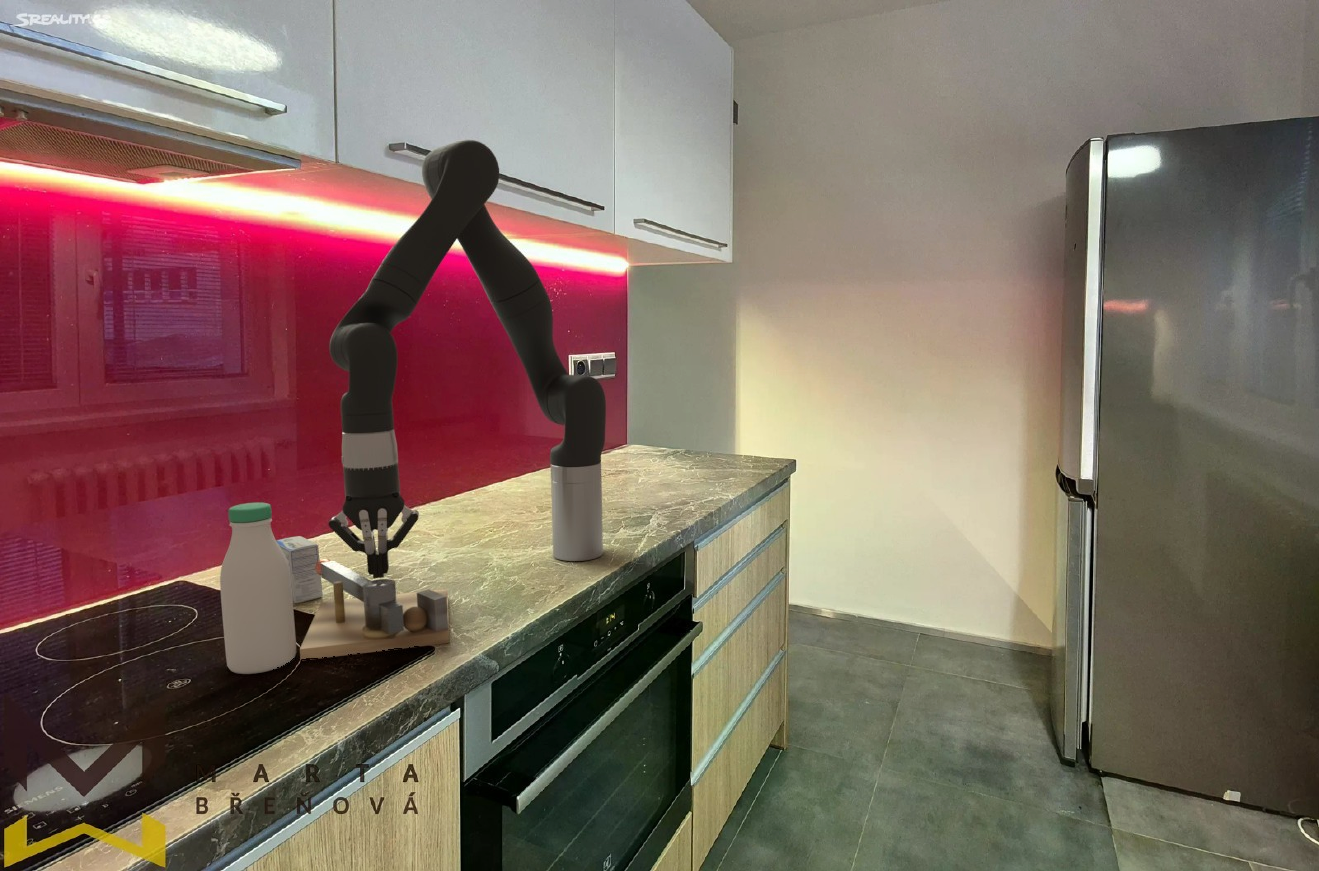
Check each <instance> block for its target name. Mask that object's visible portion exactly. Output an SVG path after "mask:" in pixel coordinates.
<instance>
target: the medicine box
mask: <svg viewBox="0 0 1319 871" xmlns="http://www.w3.org/2000/svg"><path fill="white" fill-rule="evenodd" d="M276 541H277V543H278V545H279V546H280V548H281V549H282V551H283V553H284V555H285V557H286V559H287V562H288V566H289V571H290V579H291V588H292V600H293V604H299V603H305V602H308V601H312V600H317V599H321V598H322V597H323V596H324V593H323V585H322V584H323V583H322V576H320V575H319V574H317V572H316V570H315V566H316V564H317V562H318V561H320V560H321V558H320V549H319V544H317V542H316V543H315V542H313V541H312V540H309V539H307V538H305V537H303V536H301V535H298V536H290V537H284V538H282V539H276Z"/></svg>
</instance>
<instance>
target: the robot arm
mask: <svg viewBox="0 0 1319 871" xmlns="http://www.w3.org/2000/svg"><path fill="white" fill-rule="evenodd" d="M499 166H500V165H499V162H498V160H497V158H496V156H495V154H494V152H493V151H492V149H491V148H490V147H489V146H487V145H486V144H484V143H483V142H481V141H479V140H474V139H463V140H462V139H461V140H459V141H458V140H457V141H454V142H452V143H449V144H446V145H443V146H441V147H437V148H435V149H433V150H431V151H429V153H428V154H427V155H426V156H425V158H424V160H423V162H422V166H421V175H422V176H421V177H422V182H423V184H424V185H423V186H424V187H425V190H426V192H427V194H428V196H429V198H430V199H431V200H430V202H429V203H428V205H427V207H425V209H424V211H423V212H422V213H421V214H420V216H419V217H418V219H416V220H415V222H413V224H412V225H411V226H410V227H409V228H408V229H407V230H406V231H405V233H403V234H402V236H400V238H399V239H398V240H397V241H396V242H395V243H394V245H393V246H392V247H391V248H390V250H389V251H388V253H387V254H386V256H385V257H384V259H383V260H382V261H381V263H380V265H379V266H378V268H377V270H376V271H375V273H374V275H373V277H372V278H371V280H370V282H369V284H368V286H367V288H366V289H365V292H364V293H363V294H362V295H361V297H359V298H358V300H357V301H356V302H355V303H354V304H353V305H352V306H351V307H350V309H349V310H348V311H347V312H346V313H345V315H344V316H343V317H342V319H341V320H340V321H339V323H337V325H336V327H335V329H334V331H333V333H332V335H331V337H330V340H329V347H328V348H329V354H330V357H331V360H332V361H333V363H334V364H335V365H336V366H337V367H339V368H340V369H342V370H344V371H347V372H348V373H349V374H348V375H349V376H348V390H347V391H346V392H345V393H344V394H343V395H342V397H341V399H340V418H341V419H340V420H341V430H342V433H341V434H342V438H341V440H342V441H341V464H342V469H343V470H342V471H343V484H344V495H345V496H344V497H345V498H344V502H343V505H342V510H341V511H340V512H339V513H338V514H337V515H335V516H332V517H331V519H330V520H329V521H328V527H329V528H330V529H331V531H333V532H334V533H335V534H336V535H337V536H338V537H339V538H340V539H341V540H342V541H343V542H344V543H345V544H346V545H347V546H348V547H349V548H350V549H351V550H352V551H354V552H356V553H359V552H360V553H361V552H362V553H364V554H365V556H366V563H367V564H366V565H367V573H368V575H369V576H372V579H374V580H375V579H385V574H388V572H389V570H390V564H389V561H390V560H389V551H390V550H393V549H396V548H398V547H399V546H400V545H401V543H402V542H403V541H404V539H405V538H406V536H407V535H408V534H409V532H410V531H411V529H412V528H413V527H414V525H415V524H416V523H417V521H418V520H419V517H420V512H419V511H418V510H416V509H412V508H410V507H408V506H406V505H405V501H404V499H403V496H402V494H401V486H400V485H401V484H400V468H399V454H398V443H397V439H396V433H395V422H394V408H393V395H394V392H395V386H396V378H397V372H398V362H399V361H398V350H397V349H398V347H397V344H396V341H395V338H394V336H393V335H392V333H391V332H393V330H394V328H395V327H397V325H399V324H400V323H403V322H404V321H406V320H407V319H409V317H410V316H411V315H412V314H413V312H414V311H415V309H416V307H417V305H418V304H419V302H420V300H421V298H422V296H423V295H424V293H425V291H426V289H427V287H428V286H429V283H430V282H431V281H432V278H433V277H434V275H435V273H436V272H437V270H438V268H439V266H440V265H441V263H442V262H443V260H444V258H445V257H446V255H448V253H449V251H450V249H451V248H452V246H453V245H454V244H455V242H456V241H458V243H459V244H460V246H461V248H462V250H463V252H464V254H465V255H466V257H467V259H468V262H469V263H470V265H471V267H472V270H473V271H474V273H475V275H476V276H477V278H478V280H479V282H480V284H481V286H482V288H483V290H484V291H485V294H486V296H487V299H488V300H489V302H490V304H491V306H492V308H493V310H494V312H495V313H496V316H497V318H498V320H499V321H500V323H501V325H502V326H503V329H504V330H505V332H506V335H507V337H508V338H509V340H510V342H511V344H512V346H513V348H514V350H515V352H516V354H517V356H518V358H519V360H520V362H521V364H522V366H523V368H524V370H525V373H526V376H527V377H528V380H529V383H530V385H531V388H532V390H533V393H534V395H535V398H536V401H537V403H538V406H539V407H540V410H541V412H542V413H543V414H544V416H545V417H546V419H548V420H549V421H551V422H552V423H554V424H557V425H559V426H560V425H562V426H564V434H563V435H564V436H563V438H562V439H563V440H562V441H561V442H560V443H559V444H556V445H555V446H554V447H552V448H551V449H550V454H549V460H550V461H549V463H550V485H551V486H550V487H551V488H550V489H551V492H550V493H551V495H550V496H551V520H552V521H551V525H552V527H551V528H552V530H551V531H552V556H553V557H554V558H555V559H557V560H561V561H568V562H584V561H590V560H593V559H597V558H599V557H602V556H603V555H604V554H603V553H604V543H603V542H604V539H603V538H604V536H603V535H604V534H603V533H604V532H603V530H604V529H603V492H602V491H603V486H602V484H603V483H602V482H603V481H602V453H603V450H604V447H605V444H606V423H607V422H606V421H607V420H606V419H607V417H606V416H607V401H606V395H605V391H604V388H603V386H602V384H601V383H600V381H598V379H597V378H595V377H593V376H589V375H583V374H581V375H580V374H577V375H576V374H569V372H568V371H567V370H566V368H565V366H564V364H563V362H562V361H561V358H560V355H559V354H558V352H557V350H556V347H555V344H554V329H553V328H554V318H553V315H554V314H553V306H552V302H551V299H550V298H549V295H548V293H547V290H546V288H545V286H544V284H543V282H542V280H541V278H540V276H539V273H538V272H537V270H536V269H535V267H534V266H533V264H532V263H531V262H530V261H529V259H528V258H527V257H526V255H524V254H523V252H521V251H520V250H519V249H518V248H517V247H516V246H515V244H513V243H512V242H511V241H510V239H508V238H507V237H506V236H505V235H504V234H503V233H502V231H501V230H500V229H499V227H498V226H497V225H496V224H495V222H494V220H493V219H492V217H491V214H490V213H489V211H488V209H487V206H486V205H485V204H486V203H487V202H488V200H489V199H490V198H491V197H492V195H493V194H494V193H495V190H496V189H497V187H498V183H499V180H500V168H499ZM400 514H402V516H401V522H402V524H401V525H400V527H399V528H398V529H397V531H396V532H395V534H394V535H393V536H392V537H391V538H389V529H390V528H391V527H392V526H393V524H394V523H395V522H396V520H397V519H398V518H399V516H400ZM347 518H348V519H349V520H348V519H347ZM349 521H350V522H351V523H352V524H353V525H354V526H355V527H356V528H357V529H358V530H360V531H361V533H362V539H363V540H362V539H360V537H359V536H358V535H357V534H356V533H355V532H353V530H351V529H350V527H349V526H348V525H349ZM375 530H376V531H377V544H376V539H375ZM376 545H377V546H376Z"/></svg>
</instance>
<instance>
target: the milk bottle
mask: <svg viewBox="0 0 1319 871" xmlns="http://www.w3.org/2000/svg"><path fill="white" fill-rule="evenodd" d="M272 513H273V512H272V505H271V504H270V503H268V502H267V503H266V502H247V503H240V504H236V505H234V506H231V507H229V509H228V520H229V524H228V525H229V526H230V527H231V531H232V532H231V538H230V542H229V546H228V549H227V550H226V554H225V556H224V559H222V560H223V561H222V564H221V569H220V574H219V575H220V577H219V581H220V582H219V583H220V584H219V585H220V586H219V587H220V601H221V602H220V603H221V612H222V613H221V614H222V626H223V628H222V629H223V637H224V650H225V659H226V665H227V666H226V667H228V669H229V671H230V672H233V673H235V674H239V675H240V674H242V675H251V674H259V673H260V674H261V673H265V672H270V671H273V669H274V670H276V669H278V668H277V667H279V668H281V666H282V667H283V665H284V666H286V665H287V664H286V663H288V662H289V663H291V662H292V661H293V660H294V659H295V657H296V654H297V641H296V627H295V615H294V614H295V613H294V602H293V600H292V588H291V579H290V571H289V566H288V562H287V559H286V557H285V555H284V553H283V551H282V549H281V548H280V546H279V545H278V543H277V539H276V537H275V536H274V533H273V531H272V525H271V522H272V521H273V519H272V515H273V514H272ZM293 658H294V659H293ZM292 659H293V660H292ZM291 660H292V661H291ZM290 661H291V662H290ZM289 663H288V664H289ZM285 664H286V665H285Z"/></svg>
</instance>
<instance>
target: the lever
mask: <svg viewBox="0 0 1319 871" xmlns="http://www.w3.org/2000/svg"><path fill="white" fill-rule="evenodd" d="M315 570H316V572H317V574H319V575H320V576H321V579H324V580H325V581H327V582H329V583H330V584H332V585H333V583H334V582H338V581H342V582H343V592H345V593H347V594H349V595H350V596H352V597H353V598H357V599H359V600H361V601H362V602H364V612H365V626H366V627H367V628H369V629H381V630H382V631H384V632H385V633H387V634H389V635H390V634H393V633H396V632H400V631H403V630H404V623H403V606H402V604H400V603H398V602H396V594H397V590H396V589H397V588H396V581H395V580H394V579H391V578H390V579H389V578H378V579H374V580H371V579H368V578H367V577H364V576H363V575H361V574H359V573H357V572H356V571H354V570H352V569H349V568H348V567H346V566H344V565H343V564H341V563H339V562H337V561H335V560H331V559H329V558H322V559H320V561H318V562H317V564H316V566H315Z"/></svg>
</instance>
